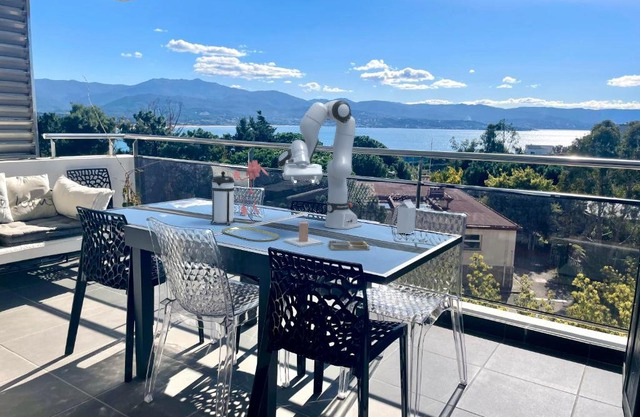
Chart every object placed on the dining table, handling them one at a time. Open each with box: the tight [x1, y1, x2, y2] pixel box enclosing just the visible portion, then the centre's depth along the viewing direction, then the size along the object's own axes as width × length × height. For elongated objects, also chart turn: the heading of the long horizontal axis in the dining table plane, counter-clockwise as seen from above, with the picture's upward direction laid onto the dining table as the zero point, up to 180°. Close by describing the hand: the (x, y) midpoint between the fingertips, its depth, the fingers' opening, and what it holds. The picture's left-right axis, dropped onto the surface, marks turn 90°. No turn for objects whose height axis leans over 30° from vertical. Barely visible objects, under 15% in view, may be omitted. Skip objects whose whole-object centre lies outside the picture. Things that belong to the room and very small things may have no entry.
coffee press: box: [210, 171, 236, 226], centre depth 281 cm, size 17×16×30 cm
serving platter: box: [222, 226, 280, 242], centre depth 255 cm, size 19×35×2 cm, turn 47°
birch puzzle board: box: [327, 240, 370, 251], centre depth 235 cm, size 9×18×3 cm, turn 99°
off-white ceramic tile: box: [282, 236, 324, 248], centre depth 242 cm, size 14×14×1 cm
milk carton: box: [396, 198, 417, 234], centre depth 272 cm, size 7×7×19 cm
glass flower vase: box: [233, 160, 269, 218], centre depth 310 cm, size 15×26×35 cm, turn 140°
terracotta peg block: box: [298, 221, 309, 242], centre depth 241 cm, size 4×4×9 cm
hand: (304, 184), depth 250 cm, fingers open, 8 cm apart
